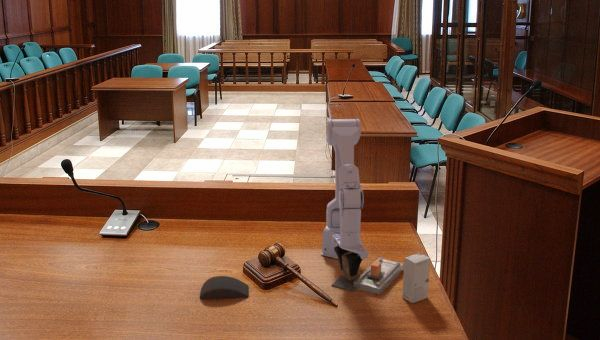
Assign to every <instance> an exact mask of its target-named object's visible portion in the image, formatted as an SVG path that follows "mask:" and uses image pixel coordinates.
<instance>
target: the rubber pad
mask: <svg viewBox="0 0 600 340" xmlns="http://www.w3.org/2000/svg"><path fill="white" fill-rule="evenodd" d="M356 279H357V278H356ZM356 279H353V280H351V281H350V280H348V279H346V278H345V277H343V274H341V276H340V277H339V278H337V279H336V280H335V281H334V282H333V283H332V284H331V287H334V288H338V289H342V290H346V291H349V292H353V293H354V292H355V291H356V290H358V289H357V288H356V287H354V281H355V280H356Z"/></svg>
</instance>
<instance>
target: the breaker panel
mask: <svg viewBox="0 0 600 340" xmlns="http://www.w3.org/2000/svg"><path fill="white" fill-rule="evenodd" d="M375 261H378V262H382V263H381V272H385V274H384V275H383V276H382V277H381V279H380V280H379V279H375V278H371V277H367V274H368V273H369V272H370V271H371V265H370V266H369V267H367V268H366V270H364V272H363V273H360V277H358V278H357V279H356V280H355V281H354V287H356V288H357V289H356V290H358V291H359V290H360V291H363V292H365V293H369V294H373V295H378V296H380V295H381V294H382V293H383V292H384V291H385V290H386V289H387V288H388V287H389V285H391V284H392V282H393V281H394V280H395V279H396V278H397V277H398V276H399V275H400V274H401V273H402V272H403V271H404V263H401V261H394V260H389V259H385V258H383V257H378V258H377V259H376V260H375Z"/></svg>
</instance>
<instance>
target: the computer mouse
mask: <svg viewBox="0 0 600 340" xmlns="http://www.w3.org/2000/svg"><path fill="white" fill-rule="evenodd" d="M249 287H250V286H249V285H248V284H247V283H246V282H244V281H242V280H240V279H238V278H236V277H232V276H227V275H217V276H211V277H210V278H208V279H206V280H205V282H203V284H202V286H201V287H200V292H199V299H201V300H226V299H227V300H228V299H243V298H244V299H245V298H249V296H250V295H249V293H250V291H249V289H250V288H249Z"/></svg>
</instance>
